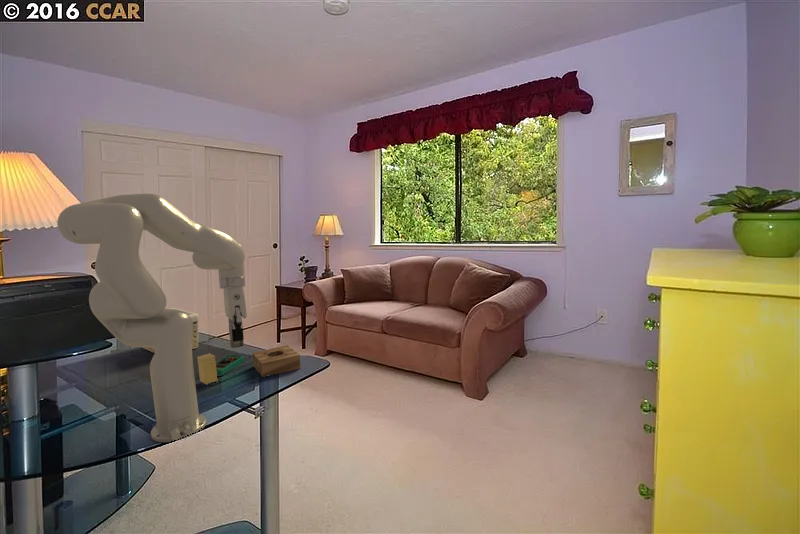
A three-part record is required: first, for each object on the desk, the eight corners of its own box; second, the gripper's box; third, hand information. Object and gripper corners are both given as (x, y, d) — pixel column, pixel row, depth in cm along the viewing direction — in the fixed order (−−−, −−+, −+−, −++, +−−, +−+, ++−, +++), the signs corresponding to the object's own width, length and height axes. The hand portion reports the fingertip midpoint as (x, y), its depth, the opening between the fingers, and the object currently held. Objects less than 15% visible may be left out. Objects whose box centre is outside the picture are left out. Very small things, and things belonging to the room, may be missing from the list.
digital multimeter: (245, 362, 153) (245, 354, 153) (221, 378, 139) (221, 369, 139) (228, 361, 155) (227, 354, 154) (202, 377, 140) (201, 369, 140)
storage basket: (138, 348, 173) (134, 314, 171) (178, 338, 186) (174, 306, 183) (162, 360, 158) (157, 322, 156) (203, 348, 171) (200, 313, 168)
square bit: (217, 381, 135) (214, 355, 134) (205, 386, 132) (202, 359, 131) (212, 378, 138) (209, 353, 136) (200, 382, 135) (197, 356, 133)
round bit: (245, 346, 131) (243, 318, 130) (231, 348, 128) (229, 320, 127) (242, 343, 134) (240, 316, 133) (229, 345, 132) (227, 318, 131)
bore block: (300, 368, 144) (299, 354, 143) (262, 377, 137) (261, 363, 136) (288, 357, 155) (287, 345, 154) (253, 366, 148) (252, 352, 147)
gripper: (251, 284, 124) (255, 343, 126) (239, 278, 138) (243, 331, 140) (224, 286, 120) (229, 347, 122) (215, 281, 134) (219, 335, 136)
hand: (236, 338), depth 131 cm, fingers closed on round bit, 4 cm apart
